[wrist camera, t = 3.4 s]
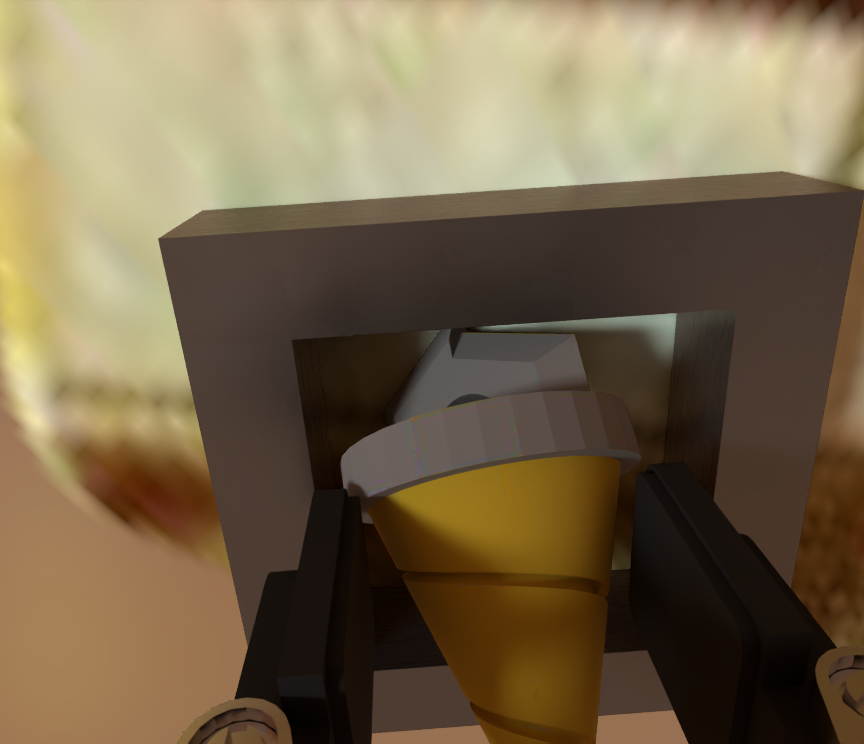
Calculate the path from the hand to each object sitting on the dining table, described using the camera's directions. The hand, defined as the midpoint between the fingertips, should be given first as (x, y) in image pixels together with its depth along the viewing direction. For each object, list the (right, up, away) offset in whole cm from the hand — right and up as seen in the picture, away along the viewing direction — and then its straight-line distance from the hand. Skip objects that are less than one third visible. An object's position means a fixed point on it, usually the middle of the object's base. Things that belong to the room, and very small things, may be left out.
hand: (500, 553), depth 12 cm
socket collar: (0, +1, +3) cm, 4 cm away
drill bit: (0, +2, +4) cm, 4 cm away
